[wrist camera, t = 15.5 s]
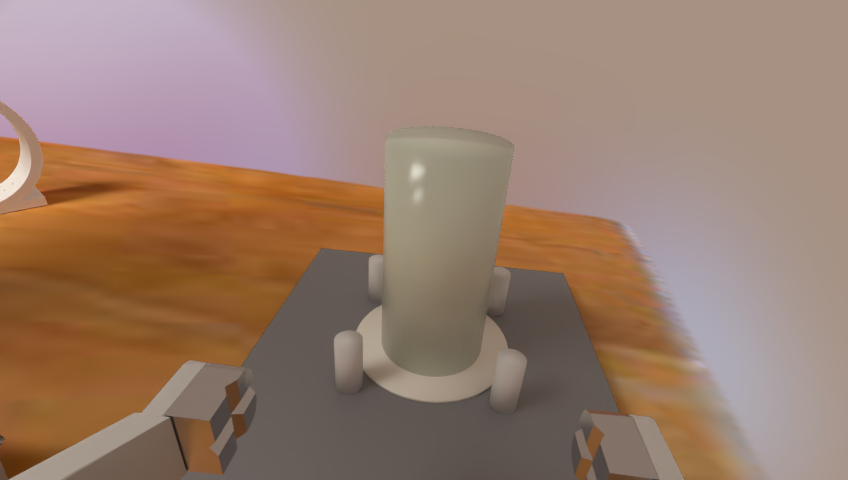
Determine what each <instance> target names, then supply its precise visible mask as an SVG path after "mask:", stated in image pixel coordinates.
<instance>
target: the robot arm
mask: <svg viewBox="0 0 848 480" xmlns="http://www.w3.org/2000/svg"><path fill="white" fill-rule="evenodd" d="M252 381H253V375H252V370H251V369H248V368H242V367H235V366H228V365H222V364H215V363H207V362H200V361H193V360H190V361H188V362H186V363H184V364H183V365H182V366H181V367H180V368H179V370H178V371H177V372H176V373H175V374H174V375H173V376H172V378H171V379H170V380H169V381H168V382H167V383H166V385H165V386H164V387H163V388H162V389H161V390H160V392H159V393H158V394H157V395H156V396H155V397H154V398H153V400H152V401H151V402H150V403H149V404H148V405H147V407H146V408H145V409H144V410H143V411H142V412H141V413H133V414H131V415H129V416H127V417H125V418H123V419H122V420H120V421H118V422H116V423H114V424H112V425H110V426H108V427H107V428H105V429H103V430H101V431H99V432H97V433H95V434H93V435H91V436H90V437H88V438H86V439H84V440H82V441H80V442H78V443H76V444H75V445H73V446H71V447H69V448H67V449H65V450H63V451H61V452H59V453H58V454H56V455H54V456H52V457H50V458H48V459H46V460H44V461H43V462H41V463H39V464H37V465H35V466H33V467H31V468H29V469H28V470H26V471H24V472H22V473H20V474H18V475H16V476H14V477H12V478H11V479H9V480H179V479H181V478H182V477H183V476H184V475H186V474H187V471H191V472H201V473H210V474H220V475H223V474H224V472H225V470H226V469H227V467H228V465H229V463H230V461H231V460H232V458H233V456H234V454H235V452H236V451H237V449H238V448H237V443H236V439H237V438H239V437H240V436H242V435H243V434H245V433H246V432H247V431H248V429H249V427H250V425H251V423H252V421H253V418H254V414H255V411H256V403H257V398H256V393H255V391H254V390H253V389H252V388H251V387H250V385H251V383H252ZM580 424H581V428H582V429H580V430H579V431H577V432H575V434H574V437H573V441H572V450H571V457H572V465H573V469H574V474H575V476H576V477H577V478H578V479H579V480H685V479H684V477H683V475H682V473H681V471H680V469H679V467H678V465H677V463H676V461H675V459H674V457H673V455H672V453H671V451H670V449H669V447H668V445H667V443H666V441H665V439H664V437H663V435H662V433H661V431H660V429H659V427H658V425H657V423H656V421H655V420H654V419H653V418H652V417H647V416H639V415H630V414H629V415H627V414H623V413H614V412H605V411H596V410H587V409H585V410H584V411H583V412H582V414H581V417H580Z"/></svg>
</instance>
